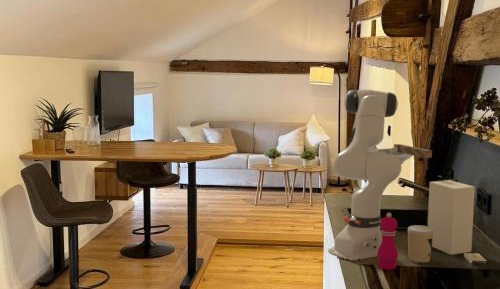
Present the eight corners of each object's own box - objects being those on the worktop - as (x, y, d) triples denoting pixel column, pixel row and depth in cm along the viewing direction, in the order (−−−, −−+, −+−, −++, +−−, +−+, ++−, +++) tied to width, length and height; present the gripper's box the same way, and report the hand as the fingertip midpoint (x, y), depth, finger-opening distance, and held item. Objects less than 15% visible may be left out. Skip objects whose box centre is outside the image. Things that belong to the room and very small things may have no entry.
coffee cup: (433, 264, 202) (435, 232, 201) (407, 262, 204) (408, 231, 202) (430, 256, 211) (432, 225, 210) (405, 254, 213) (406, 224, 211)
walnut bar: (431, 157, 231) (432, 150, 230) (425, 158, 230) (426, 150, 229) (399, 150, 251) (399, 144, 251) (393, 150, 250) (394, 144, 250)
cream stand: (471, 251, 216) (474, 186, 213) (450, 254, 213) (454, 188, 209) (446, 241, 229) (449, 180, 226) (426, 244, 226) (429, 181, 222)
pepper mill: (391, 271, 195) (393, 216, 192) (373, 266, 199) (374, 212, 197) (401, 266, 200) (403, 212, 197) (383, 261, 205) (384, 209, 202)
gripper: (364, 153, 256) (380, 142, 244) (401, 151, 264) (418, 140, 252) (368, 166, 254) (384, 155, 242) (405, 163, 261) (422, 152, 249)
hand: (401, 147), depth 247 cm, fingers closed on walnut bar, 3 cm apart
